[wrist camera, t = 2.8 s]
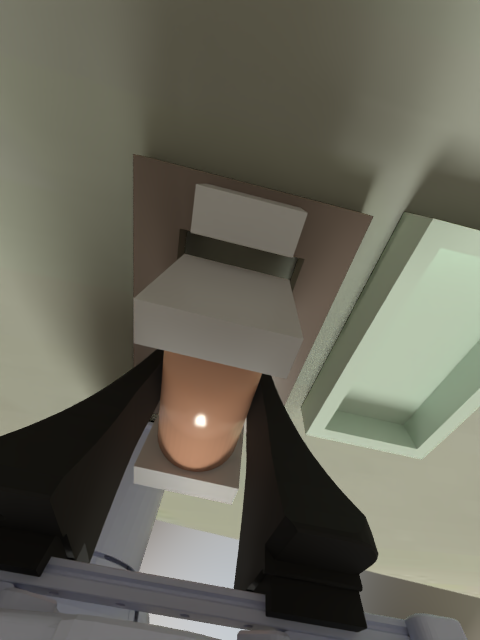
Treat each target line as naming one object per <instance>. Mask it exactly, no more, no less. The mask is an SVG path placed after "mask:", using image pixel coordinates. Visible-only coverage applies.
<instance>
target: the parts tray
mask: <svg viewBox="0 0 480 640" xmlns="http://www.w3.org/2000/svg"><path fill="white" fill-rule="evenodd" d="M479 407H480V231H479V230H476V229H472V228H468V227H464V226H460V225H457V224H453V223H449V222H445V221H441V220H437V219H434V218H429V217H425V216H420V215H416V214H411V213H407V212H404V213H403V215H402V217H401V219H400V221H399V223H398V225H397V226H396V228H395V230H394V232H393V234H392V236H391V238H390V240H389V242H388V244H387V245H386V247H385V249H384V251H383V253H382V255H381V257H380V259H379V261H378V263H377V264H376V266H375V268H374V270H373V272H372V274H371V276H370V278H369V280H368V282H367V283H366V285H365V287H364V289H363V291H362V293H361V295H360V297H359V299H358V301H357V302H356V304H355V306H354V308H353V310H352V312H351V314H350V316H349V318H348V320H347V321H346V323H345V325H344V327H343V329H342V331H341V333H340V335H339V337H338V339H337V341H336V342H335V344H334V346H333V348H332V350H331V352H330V354H329V356H328V358H327V360H326V361H325V363H324V365H323V367H322V369H321V371H320V373H319V375H318V377H317V379H316V380H315V382H314V384H313V386H312V388H311V390H310V392H309V394H308V396H307V398H306V399H305V401H304V403H303V405H302V407H301V411H302V416H303V422H304V428H305V433H306V435H309V436H314V437H319V438H323V439H328V440H333V441H337V442H342V443H347V444H351V445H356V446H361V447H365V448H370V449H375V450H379V451H384V452H389V453H393V454H398V455H403V456H407V457H412V458H417V459H421V460H422V459H423V458H424V457H425V456H427V455H428V454H429V453H430V452H431V451H432V450H433V449H434V448H435V447H436V446H437V445H438V444H440V443H441V442H442V441H443V440H444V439H445V438H446V437H447V436H448V435H449V434H450V433H451V432H453V431H454V430H455V429H456V428H457V427H458V426H459V425H460V424H461V423H462V422H463V421H464V420H466V419H467V418H468V417H469V416H470V415H471V414H472V413H473V412H474V411H475V410H476V409H477V408H479Z"/></svg>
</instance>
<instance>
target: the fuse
mask: <svg viewBox="0 0 480 640" xmlns="http://www.w3.org/2000/svg"><path fill="white" fill-rule="evenodd" d="M303 340H304V339H303V335H302V330H301V326H300V322H299V318H298V314H297V310H296V306H295V302H294V297H293V293H292V289H291V285H290V281H289V279H285V278H281V277H277V276H273V275H269V274H265V273H261V272H257V271H253V270H249V269H245V268H241V267H237V266H233V265H229V264H225V263H220V262H216V261H212V260H208V259H204V258H200V257H196V256H192V255H188V254H184V255H182V256H181V257H180V258H179V259H178V260H177V261H176V262H174V263H173V264H172V265H171V266H170V267H169V268H168V269H166V270H165V271H164V272H163V273H162V274H161V275H160V276H159V277H157V278H156V279H155V280H154V281H153V282H152V283H151V284H149V285H148V286H147V287H146V288H145V289H144V290H143V291H141V292H140V293H139V294H138V295H137V296H136V297H135V298H134V343H135V344H139V345H143V346H148V347H152V348H156V349H160V350H164V357H163V370H162V383H161V395H160V408H159V413H158V415H157V417H156V419H155V421H154V423H153V426H152V428H151V430H150V432H149V434H148V436H147V439H146V441H145V443H144V445H143V447H142V449H141V451H140V454H139V456H138V458H137V460H136V462H135V464H134V484H139V485H143V486H148V487H153V488H157V489H162V490H166V491H171V492H176V493H180V494H185V495H190V496H194V497H199V498H203V499H208V500H213V501H217V502H222V503H226V504H231V505H232V503H233V500H234V498H235V496H236V493H237V491H238V489H239V477H240V466H241V455H242V443H243V432H244V422H245V420H246V417H247V414H248V411H249V409H250V406H251V403H252V400H253V397H254V395H255V392H256V389H257V386H258V384H259V381H260V378H261V375H262V373H263V374H267V375H271V376H276V377H280V378H284V379H287V376H288V374H289V372H290V370H291V367H292V365H293V363H294V360H295V358H296V356H297V353H298V351H299V349H300V347H301V344H302V342H303Z"/></svg>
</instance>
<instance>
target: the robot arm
mask: <svg viewBox="0 0 480 640" xmlns="http://www.w3.org/2000/svg"><path fill="white" fill-rule="evenodd" d="M163 357H164V350H160V349H156V350H155V351H154V352H153V353H151V354H150V355H149V356H148V357H147V358H145V359H144V360H143V361H142V362H140V363H139V364H138V365H137V366H135V367H134V368H133V369H131V370H130V371H129V372H127V373H126V374H125V375H123V376H122V377H120V378H119V379H117V380H116V381H114V382H113V383H111V384H110V385H109V386H107V387H105V388H104V389H102V390H101V391H99V392H97V393H96V394H94V395H92V396H90V397H89V398H87V399H85V400H83V401H81V402H79V403H77V404H75V405H74V406H72V407H70V408H68V409H66V410H64V411H62V412H59V413H57V414H55V415H53V416H50V417H48V418H46V419H44V420H41V421H39V422H37V423H34V424H32V425H29V426H27V427H24V428H22V429H19V430H16V431H14V432H11V433H8V434H6V435H3V436H0V640H220V639H216V638H212V637H208V636H205V635H201V634H196V633H192V632H188V631H183V630H178V629H172V628H168V627H162V626H158V625H151V624H149V614H148V613H152V614H158V615H164V616H169V617H175V618H181V619H187V620H193V621H199V622H204V623H210V624H216V625H222V626H228V627H234V628H240V629H245V630H241V631H239V633H238V635H237V640H467V638H466V636H465V634H464V631H463V629H462V627H461V625H460V623H459V622H458V621H457V620H456V619H452V618H447V617H442V616H436V615H430V614H413V615H410V616H408V617H407V618H406V619H405V620H404V619H398V618H392V617H387V616H381V615H376V614H370V613H365V612H364V611H363V607H362V603H361V599H360V595H359V592H361V591H362V584H361V580H360V576H359V574H360V573H361V572H363V571H364V570H366V569H367V568H369V567H370V566H371V565H373V564H374V563H375V562H376V560H377V557H378V551H377V548H376V545H375V542H374V538H373V535H372V532H371V530H370V527H369V525H368V522H367V519H366V517H365V516H364V515H363V513H362V512H361V511H360V510H359V509H358V508H357V507H356V506H355V505H354V504H353V503H352V502H351V501H350V500H349V499H348V498H347V496H346V495H345V494H344V493H343V492H342V491H341V490H340V489H339V487H338V486H337V485H336V484H335V483H334V482H333V480H332V479H331V478H330V477H329V476H328V474H327V473H326V472H325V470H324V469H323V468H322V467H321V465H320V464H319V463H318V461H317V460H316V459H315V457H314V456H313V455H312V453H311V452H310V450H309V449H308V447H307V446H306V444H305V443H304V441H303V440H302V438H301V436H300V435H299V433H298V431H297V430H296V428H295V426H294V424H293V422H292V421H291V419H290V417H289V415H288V413H287V411H286V409H285V407H284V405H283V403H282V400H281V398H280V396H279V394H278V391H277V389H276V386H275V384H274V381H273V379H272V376H271V375H267V374H263V373H262V375H261V378H260V381H259V384H258V386H257V389H256V392H255V395H254V397H253V400H252V403H251V406H250V409H249V411H248V414H247V417H246V452H247V463H246V480H245V492H244V502H243V512H242V522H241V531H240V541H239V550H238V558H237V566H236V575H235V582H234V589H230V588H225V587H218V586H213V585H208V584H202V583H197V582H191V581H185V580H180V579H174V578H169V577H163V576H157V575H152V574H146V573H141V572H139V569H140V566H141V563H142V560H143V557H144V554H145V550H146V547H147V544H148V541H149V537H150V534H151V531H152V528H153V525H154V522H155V518H156V515H157V512H158V509H159V506H160V502H161V499H162V496H163V493H164V490H162V489H157V488H153V487H148V486H143V485H139V484H134V464H135V462H136V460H137V458H138V456H139V454H140V451H141V449H142V447H143V445H144V443H145V441H146V439H147V436H148V434H149V432H150V430H151V428H152V426H153V422H149V420H150V418H151V416H152V414H153V412H154V410H155V408H156V407H157V405H158V403H159V401H160V395H161V383H162V370H163Z"/></svg>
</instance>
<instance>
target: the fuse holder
mask: <svg viewBox="0 0 480 640" xmlns="http://www.w3.org/2000/svg"><path fill="white" fill-rule="evenodd" d="M372 218H373V216H370V215H367V214H364V213H361V212H357V211H353V210H350V209H346V208H342V207H338V206H334V205H330V204H327V203H323V202H319V201H315V200H311V199H307V198H303V197H300V196H296V195H292V194H288V193H284V192H280V191H277V190H273V189H269V188H265V187H261V186H257V185H254V184H250V183H246V182H242V181H238V180H234V179H230V178H227V177H223V176H219V175H215V174H211V173H207V172H204V171H200V170H196V169H192V168H188V167H184V166H181V165H177V164H173V163H169V162H165V161H161V160H157V159H154V158H150V157H146V156H141V155H136V154H133V265H134V298H135V297H136V296H137V295H138V294H139V293H140V292H141V291H143V290H144V289H145V288H146V287H147V286H148V285H149V284H151V283H152V282H153V281H154V280H155V279H156V278H157V277H159V276H160V275H161V274H162V273H163V272H164V271H165V270H166V269H168V268H169V267H170V266H171V265H172V264H173V263H174V262H176V261H177V260H178V259H179V258H180V257H181V256H182V255H184V254H185V245H186V236H187V230H188V231H191V232H190V233H194V234H198V235H202V236H206V237H210V238H214V239H218V240H222V241H226V242H230V243H234V244H238V245H242V246H246V247H251V248H255V249H259V250H263V251H267V252H271V253H275V254H279V255H283V256H287V257H291V258H293V257H297V258H298V260H297V263H296V266H295V269H294V272H293V275H292V277H291V280H290V285H291V289H292V293H293V297H294V302H295V306H296V310H297V314H298V318H299V322H300V326H301V330H302V335H303V339H304V340H303V342H302V344H301V347H300V349H299V351H298V353H297V356H296V358H295V360H294V363H293V365H292V367H291V370H290V372H289V374H288V376H287V379H284V378H280V377H276V376H272V379H273V381H274V384H275V386H276V389H277V391H278V394H279V396H280V398H281V400H282V403H283V405H285V403H286V401H287V399H288V397H289V395H290V393H291V390H292V388H293V386H294V384H295V382H296V380H297V378H298V376H299V373H300V371H301V369H302V367H303V365H304V363H305V361H306V359H307V356H308V354H309V352H310V350H311V348H312V346H313V344H314V342H315V339H316V337H317V335H318V333H319V331H320V329H321V327H322V325H323V322H324V320H325V318H326V316H327V314H328V312H329V310H330V308H331V305H332V303H333V301H334V299H335V297H336V295H337V293H338V291H339V288H340V286H341V284H342V282H343V280H344V278H345V276H346V274H347V271H348V269H349V267H350V265H351V263H352V261H353V259H354V256H355V254H356V252H357V250H358V248H359V246H360V244H361V242H362V239H363V237H364V235H365V233H366V231H367V229H368V227H369V225H370V222H371V220H372ZM155 350H156V348H152V347H148V346H143V345H139V344H135V343H134V367H135V366H137V365H138V364H139V363H140V362H142V361H143V360H144V359H145V358H147V357H148V356H149V355H150V354H151V353H153V352H154V351H155ZM159 408H160V401H159V403H158V405H157V407H156V408H155V410H154V412H153V414H158V413H159ZM243 433H246V420H245V422H244V432H243Z"/></svg>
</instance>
